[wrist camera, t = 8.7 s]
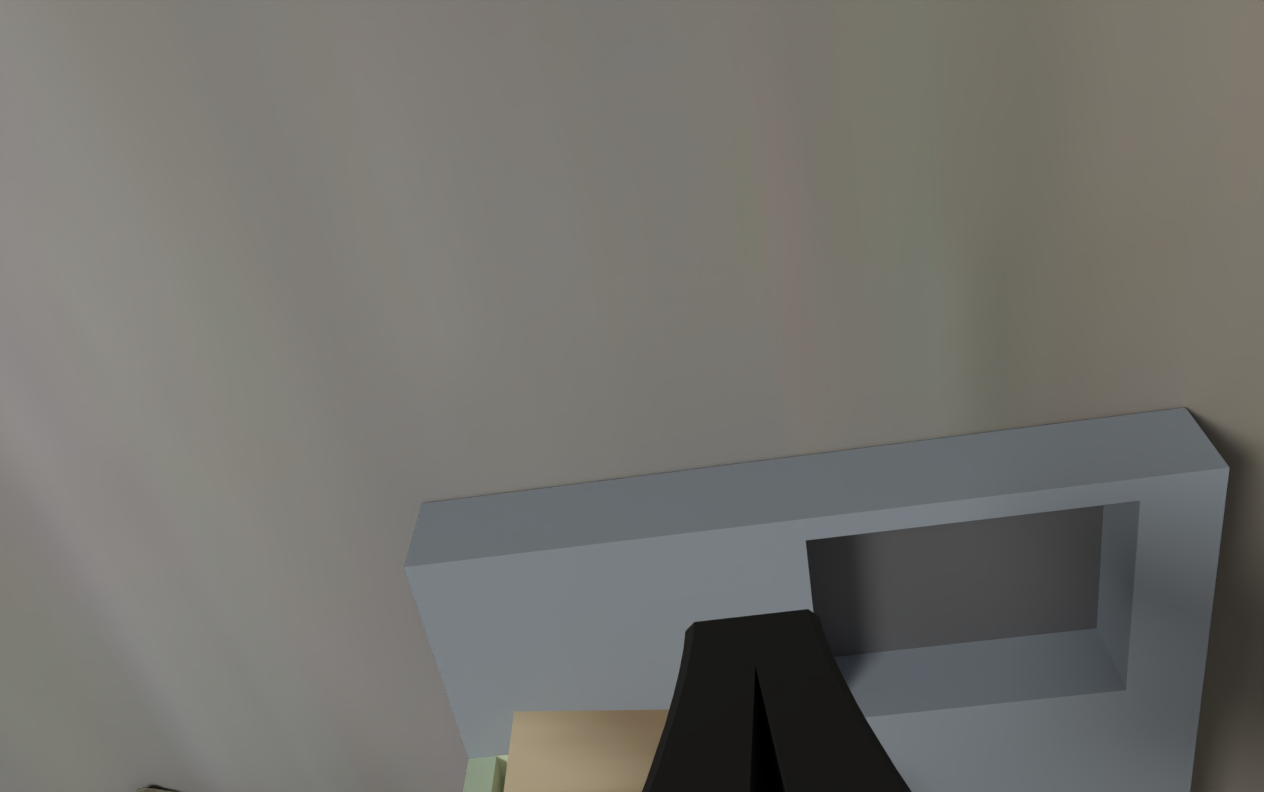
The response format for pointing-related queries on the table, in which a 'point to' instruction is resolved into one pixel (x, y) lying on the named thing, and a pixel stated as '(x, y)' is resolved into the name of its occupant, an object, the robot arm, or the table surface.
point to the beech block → (582, 750)
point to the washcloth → (151, 790)
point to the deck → (866, 596)
